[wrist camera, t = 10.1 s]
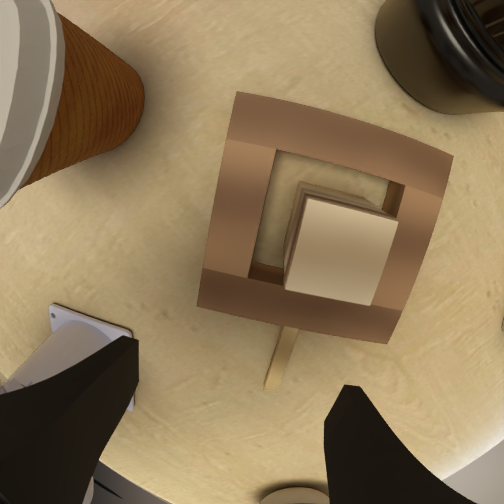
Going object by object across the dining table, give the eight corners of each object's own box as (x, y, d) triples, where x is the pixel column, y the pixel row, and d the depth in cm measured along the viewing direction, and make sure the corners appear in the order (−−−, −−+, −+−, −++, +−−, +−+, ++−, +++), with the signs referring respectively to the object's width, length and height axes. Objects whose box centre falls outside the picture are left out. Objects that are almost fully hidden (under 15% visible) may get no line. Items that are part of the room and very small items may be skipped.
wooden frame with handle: (342, 394, 23) (347, 416, 20) (193, 366, 23) (185, 388, 21) (434, 153, 16) (453, 155, 14) (242, 98, 16) (236, 91, 14)
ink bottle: (509, 77, 14) (633, 67, 2) (445, 147, 16) (594, 172, 5) (419, -30, 12) (504, -115, 1) (338, 27, 14) (406, -94, 3)
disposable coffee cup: (134, 12, 15) (14, -65, 3) (195, 127, 17) (70, 117, 6) (34, 94, 17) (-98, 96, 6) (80, 202, 19) (-57, 267, 8)
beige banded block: (346, 260, 19) (370, 307, 14) (282, 246, 19) (283, 290, 14) (364, 196, 18) (399, 220, 12) (297, 180, 18) (306, 197, 12)
